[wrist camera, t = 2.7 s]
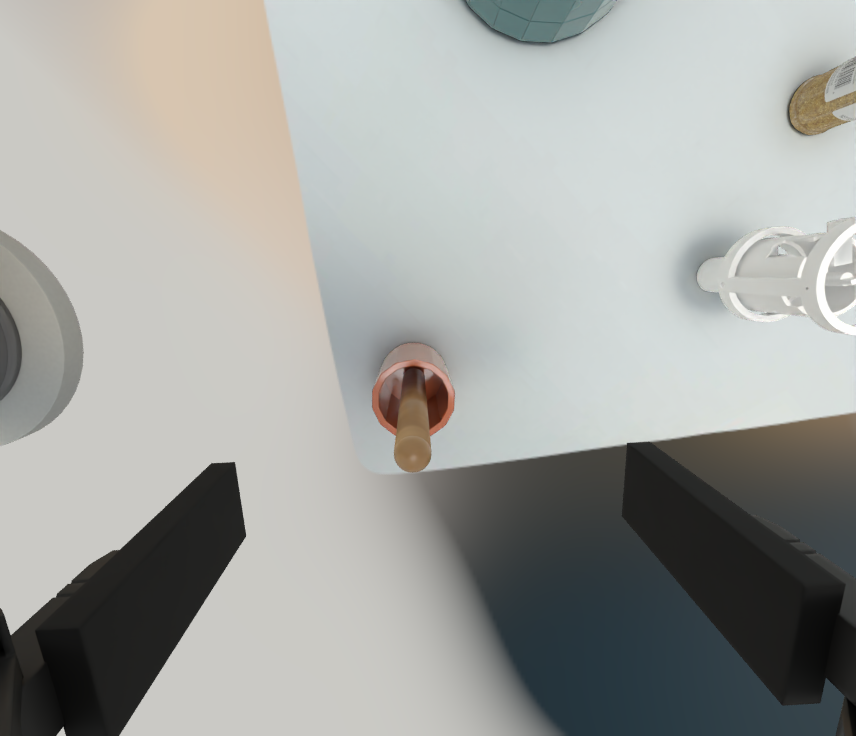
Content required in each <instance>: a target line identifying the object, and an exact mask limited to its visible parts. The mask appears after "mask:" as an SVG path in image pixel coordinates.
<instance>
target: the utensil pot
mask: <svg viewBox="0 0 856 736" xmlns="http://www.w3.org/2000/svg"><path fill="white" fill-rule="evenodd" d="M411 368H417V369H419V370H421V371H422V372H423V374H424V376H425V385H426V397H427V408H428V420H429V431H430V436H431V435H433V434H434V433H436V432H437V431H438V430H440V429H441V428H443V427H444V426H445V425H446V423H447V422H448V420H449V418H450V416H451V414H452V413H453V411H454V399H455V391H454V388H453V385H452V382H451V379H450V376H449V373H448V370H447V367H446V365H445V363H444V361H443V358H442V357H441V355H439V353H438V352H437V351H436V350H434V349H433V348H431V347H430V346H428V345H425V344H421V343H406V344H403V345H400V346H398V347H396V348H395V349H393V350H392V351H391V352H390V353H389V354H388V355H387V356H386V358H385V360H384V362H383V364H382V366H381V368H380V371H379V374H378V376H377V379H376V382H375V385H374V387H373V391H372V408H373V411H374V413H375V415H376V417H377V419H378V421H379V423H380V424H381V425H382V426H383V427H384V428H386V429H387V430H388V431H390V432H391V433H392V434H394V435H395V436H396V431H397V423H398V414H399V406H400V398H401V389H402V381H403V375H404V373H405V372H406V371H407V370H408V369H411Z"/></svg>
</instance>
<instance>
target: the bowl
mask: <svg viewBox="0 0 856 736" xmlns="http://www.w3.org/2000/svg"><path fill="white" fill-rule="evenodd" d="M616 1H617V0H466V2H467V4H468V5H469V7H470V8H471V9H472V10H473V11H474V12H475V13H477V14H478V15H479V16H480V17H481V18H482V19H483V20H484V21H485V22H486V23H487V24H488V25H489V26H490V27H491V28H493V29H495V30H497V31H500V32H502V33H504V34H506V35H509V36H511V37H513V38H516V39H518V40H521V41H531V42H555V41H558V40H561V39H564V38H567V37H570V36H574V35H577V34H580V33H581V32H583V31H584V30H586V29H587V28H588V27H590V26H591V25H593V24H594V23H595V22H597V21H598V20H599V19H601V18H602V17H603V16H605V15H606V14H607V13H608V12H609V11H610V10H611V8H612V7H613V5H614V4H615V3H616Z"/></svg>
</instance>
